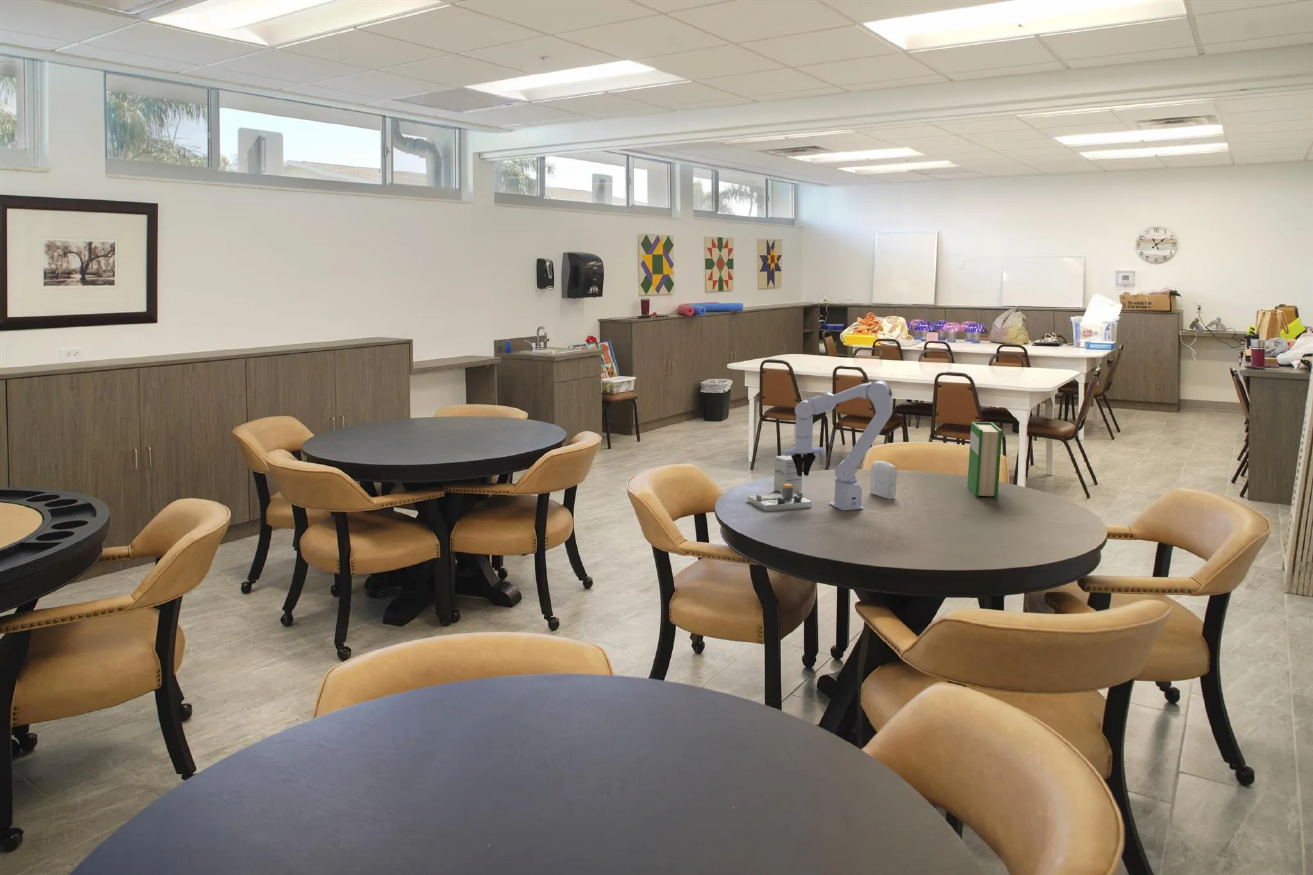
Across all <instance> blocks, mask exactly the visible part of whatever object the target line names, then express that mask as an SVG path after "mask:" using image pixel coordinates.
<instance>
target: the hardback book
mask: <svg viewBox="0 0 1313 875" xmlns="http://www.w3.org/2000/svg"><path fill="white" fill-rule="evenodd" d="M970 423H971V424H970V436H969V437H970V438H969V454H968V468H967V469H968V471H967V472H968V473H967V482H966V483H967V485H966V487H967V486H968V487H967V488H968V489H969V491H970V492H971V493H972V495H973V496H974V498H975V497H978V498H979V496H980V497H981V496H982V497H993V496H994V497H995V498H998V497H999V484H1000V471H1001V470H1000V468H1001V454H1002V442H1003V441H1002V440H1003V430H1002V429H1001V428H1000V427H999V426H998V425H996V424H995V423H994V422H990V421H989V422H988V421H987V422H986V421H985V422H984V421H983V422H982V421H981V422H979V421H971V422H970ZM994 497H993V498H994ZM995 498H994V499H995Z"/></svg>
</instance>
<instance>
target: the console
mask: <svg viewBox="0 0 1313 875" xmlns="http://www.w3.org/2000/svg"><path fill="white" fill-rule="evenodd" d="M803 495H804V494H803V492H802V491H801V492H797V493H793V498H784V497H782V496H783V493H781V492H779V493H778V492H777V493H768V494H767V493H766V494H764V493H763V494H754V495H752V494H751V495H747V502H748V503H750V504H751V505H753V506H755V507H757V508H759V509H760V510H762V511H764V512H773V511H774V512H775V511H785V510H799V509H808V508H809V509H810V508H812V507H813V506H812V505H813V504H812V501H811V500H809V499H808V498H806V497H803Z"/></svg>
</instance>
